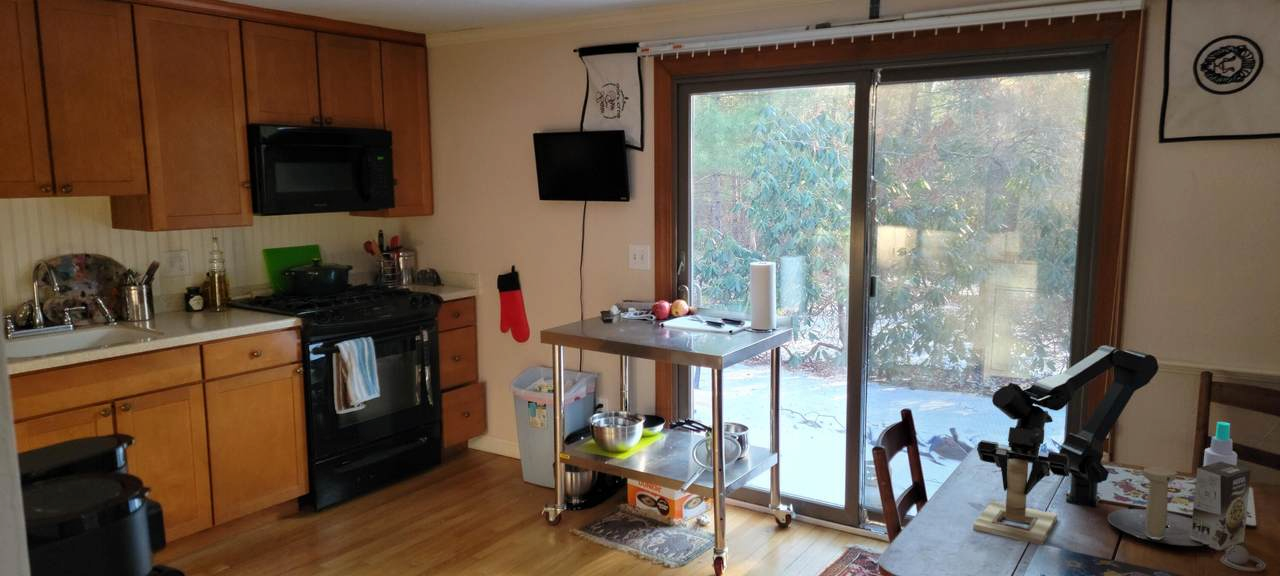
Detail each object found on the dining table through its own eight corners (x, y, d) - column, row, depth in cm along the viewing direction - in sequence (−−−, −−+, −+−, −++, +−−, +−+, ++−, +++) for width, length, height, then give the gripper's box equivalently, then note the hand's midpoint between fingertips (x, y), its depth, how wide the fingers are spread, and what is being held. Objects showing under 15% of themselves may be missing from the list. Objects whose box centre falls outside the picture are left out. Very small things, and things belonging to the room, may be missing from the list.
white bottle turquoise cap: (1218, 524, 192) (1228, 428, 189) (1192, 514, 198) (1201, 421, 195) (1237, 520, 195) (1246, 425, 191) (1210, 510, 200) (1219, 418, 197)
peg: (1007, 513, 196) (1010, 457, 194) (1027, 517, 193) (1030, 461, 191) (1003, 519, 192) (1006, 463, 190) (1022, 523, 190) (1026, 466, 188)
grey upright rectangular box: (1220, 551, 180) (1227, 476, 177) (1188, 539, 185) (1195, 467, 183) (1245, 542, 184) (1253, 469, 181) (1213, 530, 189) (1220, 459, 187)
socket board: (991, 505, 204) (992, 499, 204) (1056, 519, 196) (1057, 513, 196) (973, 529, 191) (973, 523, 191) (1041, 544, 183) (1042, 538, 183)
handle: (1176, 541, 184) (1182, 474, 182) (1149, 544, 183) (1155, 476, 181) (1158, 532, 189) (1164, 466, 187) (1132, 534, 188) (1138, 468, 186)
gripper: (981, 405, 198) (965, 466, 191) (1071, 419, 187) (1057, 484, 180) (988, 430, 205) (973, 489, 198) (1075, 444, 195) (1063, 507, 187)
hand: (1015, 492), depth 191 cm, fingers closed on peg, 4 cm apart
